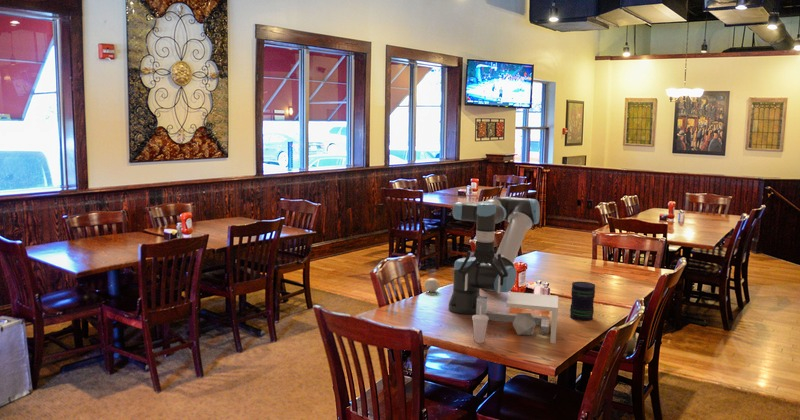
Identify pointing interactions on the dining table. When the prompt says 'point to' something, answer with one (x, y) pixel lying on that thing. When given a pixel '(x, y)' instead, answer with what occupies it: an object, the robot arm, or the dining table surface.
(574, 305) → the storage jar
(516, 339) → the dining table surface
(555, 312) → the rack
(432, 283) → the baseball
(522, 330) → the die
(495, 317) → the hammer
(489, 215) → the robot arm
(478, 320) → the smoothie
